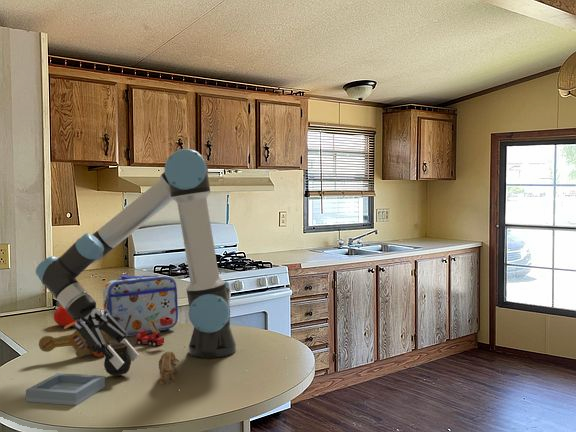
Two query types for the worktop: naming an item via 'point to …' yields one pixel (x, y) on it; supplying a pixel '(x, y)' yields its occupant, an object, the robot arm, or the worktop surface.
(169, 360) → the lion figurine
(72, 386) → the tray
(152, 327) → the toy fire truck
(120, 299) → the lunch box
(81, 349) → the toy helicopter
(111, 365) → the mate gourd
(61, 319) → the tomato
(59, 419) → the worktop surface
